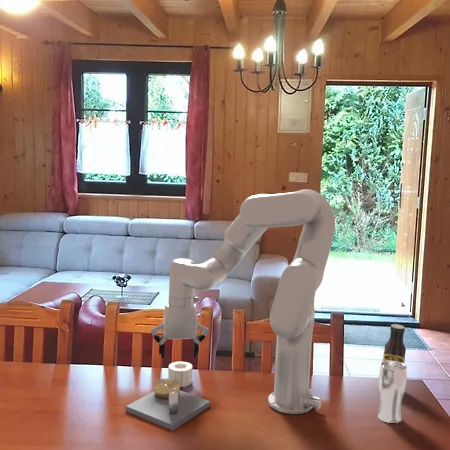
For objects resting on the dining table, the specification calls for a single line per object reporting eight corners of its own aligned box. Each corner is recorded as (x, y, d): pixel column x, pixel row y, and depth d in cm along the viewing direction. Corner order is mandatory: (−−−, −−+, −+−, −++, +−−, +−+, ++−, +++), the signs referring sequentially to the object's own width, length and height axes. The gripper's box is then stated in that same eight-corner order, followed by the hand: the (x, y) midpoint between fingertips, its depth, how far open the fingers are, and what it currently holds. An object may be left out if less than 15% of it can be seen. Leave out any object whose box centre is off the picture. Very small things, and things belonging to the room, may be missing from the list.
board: (209, 406, 146) (210, 401, 146) (172, 430, 133) (172, 424, 133) (165, 390, 155) (165, 385, 155) (126, 411, 142) (126, 406, 141)
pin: (179, 411, 139) (180, 392, 138) (173, 415, 137) (174, 395, 136) (172, 409, 141) (172, 389, 140) (166, 412, 139) (167, 392, 138)
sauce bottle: (378, 391, 159) (383, 327, 156) (380, 383, 165) (385, 321, 162) (401, 395, 156) (407, 330, 154) (402, 387, 162) (408, 324, 159)
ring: (196, 381, 162) (196, 365, 161) (182, 389, 156) (182, 372, 155) (178, 375, 165) (178, 359, 165) (163, 382, 160) (163, 366, 159)
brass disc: (184, 393, 150) (184, 383, 150) (168, 402, 144) (168, 391, 144) (165, 386, 154) (165, 376, 153) (149, 395, 148) (149, 384, 148)
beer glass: (389, 427, 138) (393, 372, 136) (370, 414, 144) (374, 362, 142) (408, 421, 141) (413, 367, 139) (389, 409, 148) (393, 358, 145)
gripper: (208, 297, 162) (204, 350, 165) (151, 296, 159) (148, 351, 162) (212, 304, 155) (208, 360, 158) (152, 304, 152) (150, 361, 154)
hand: (178, 355), depth 160 cm, fingers open, 9 cm apart
